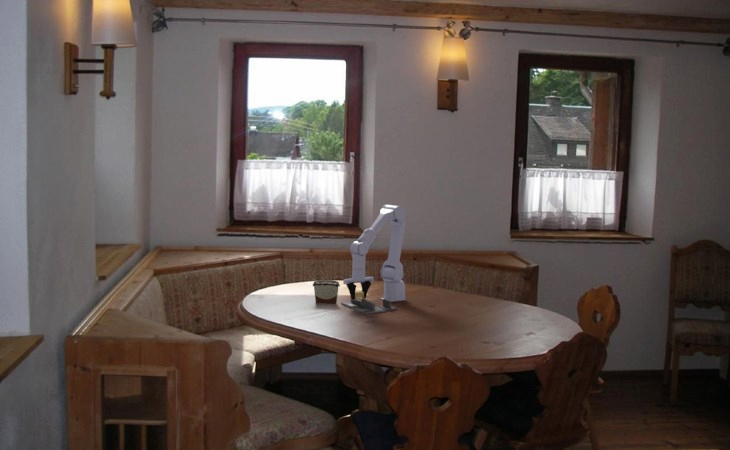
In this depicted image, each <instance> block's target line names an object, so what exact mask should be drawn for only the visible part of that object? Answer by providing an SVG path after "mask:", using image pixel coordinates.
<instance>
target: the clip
mask: <svg viewBox="0 0 730 450" xmlns="http://www.w3.org/2000/svg"><path fill="white" fill-rule="evenodd" d="M358 298H360V299H364V292H363V291H362V289H361V290H355V300H358Z"/></svg>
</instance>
